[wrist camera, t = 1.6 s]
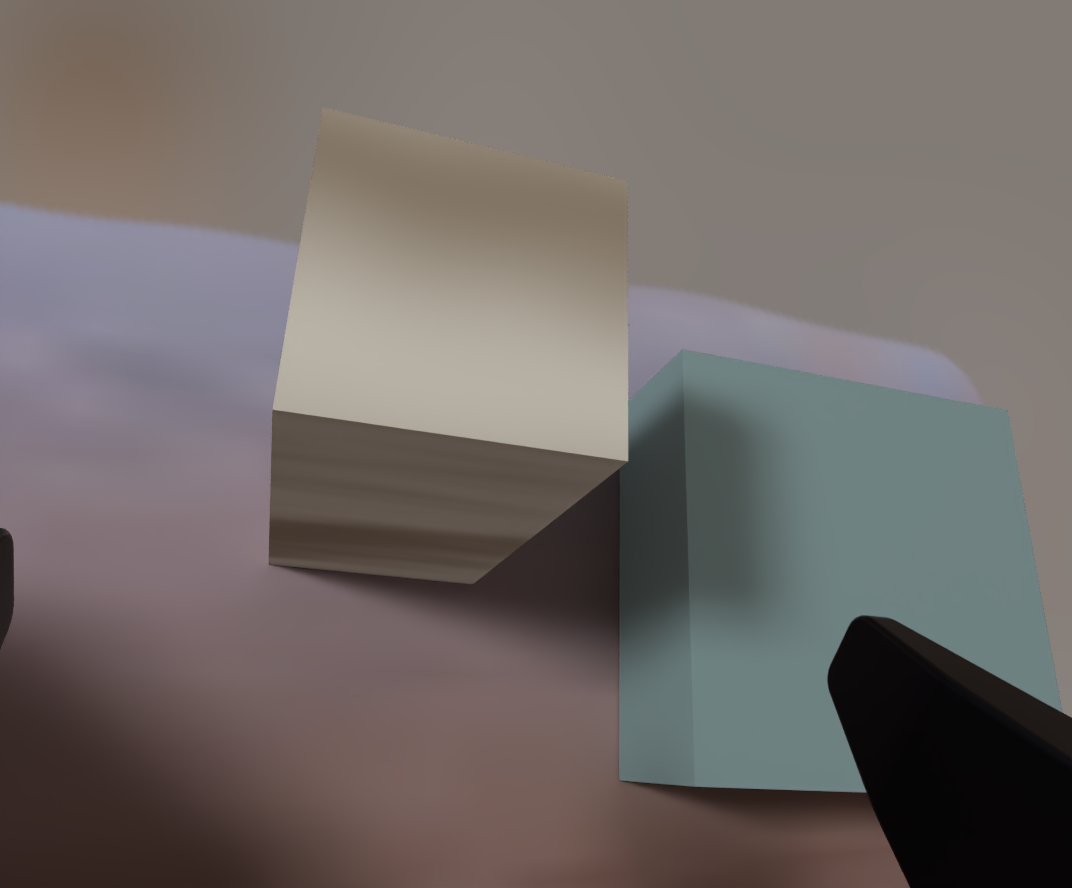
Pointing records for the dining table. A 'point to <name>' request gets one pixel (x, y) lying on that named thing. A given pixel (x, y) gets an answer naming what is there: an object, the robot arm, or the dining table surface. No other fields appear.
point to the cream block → (445, 354)
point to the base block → (803, 563)
